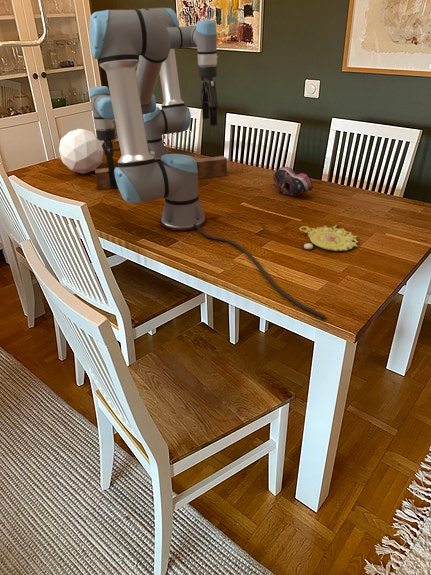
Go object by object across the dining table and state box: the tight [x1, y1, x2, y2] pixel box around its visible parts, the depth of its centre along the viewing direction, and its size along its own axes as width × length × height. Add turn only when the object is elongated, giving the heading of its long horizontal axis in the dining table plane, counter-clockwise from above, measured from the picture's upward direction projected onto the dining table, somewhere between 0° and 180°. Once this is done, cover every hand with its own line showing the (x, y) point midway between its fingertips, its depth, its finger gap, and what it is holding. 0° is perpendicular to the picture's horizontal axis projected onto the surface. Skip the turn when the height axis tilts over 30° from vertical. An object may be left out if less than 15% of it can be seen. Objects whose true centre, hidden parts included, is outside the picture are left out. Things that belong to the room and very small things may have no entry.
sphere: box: [58, 128, 104, 175], centre depth 202 cm, size 19×20×20 cm
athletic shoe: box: [270, 166, 314, 197], centre depth 175 cm, size 11×22×12 cm
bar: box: [94, 155, 228, 191], centre depth 192 cm, size 56×5×7 cm, turn 105°
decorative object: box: [299, 224, 359, 252], centre depth 141 cm, size 21×2×20 cm
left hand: (209, 122), depth 186 cm, fingers open, 13 cm apart
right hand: (113, 184), depth 189 cm, fingers closed on bar, 5 cm apart
